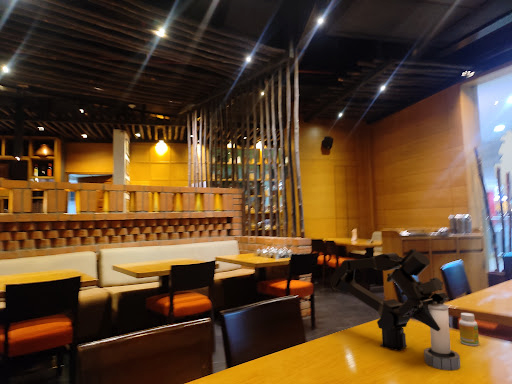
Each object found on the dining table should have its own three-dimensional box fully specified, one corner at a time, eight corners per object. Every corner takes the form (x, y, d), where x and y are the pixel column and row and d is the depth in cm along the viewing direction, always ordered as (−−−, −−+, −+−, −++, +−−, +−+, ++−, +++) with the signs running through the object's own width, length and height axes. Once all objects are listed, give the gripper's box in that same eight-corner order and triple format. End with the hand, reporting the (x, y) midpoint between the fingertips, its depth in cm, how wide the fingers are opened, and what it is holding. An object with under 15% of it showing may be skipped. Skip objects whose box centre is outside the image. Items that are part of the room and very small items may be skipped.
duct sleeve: (427, 348, 101) (424, 304, 102) (440, 346, 103) (438, 302, 104) (441, 354, 96) (438, 308, 97) (455, 352, 98) (452, 306, 99)
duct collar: (420, 363, 99) (420, 353, 99) (430, 355, 105) (430, 345, 106) (455, 373, 93) (454, 361, 93) (463, 362, 99) (462, 352, 99)
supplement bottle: (478, 347, 111) (476, 317, 112) (459, 344, 114) (457, 314, 115) (479, 342, 115) (477, 313, 116) (461, 339, 118) (459, 311, 119)
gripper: (405, 271, 100) (444, 318, 89) (440, 266, 110) (479, 308, 99) (384, 294, 106) (418, 340, 96) (419, 287, 116) (454, 328, 105)
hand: (444, 328), depth 99 cm, fingers closed on duct sleeve, 5 cm apart
